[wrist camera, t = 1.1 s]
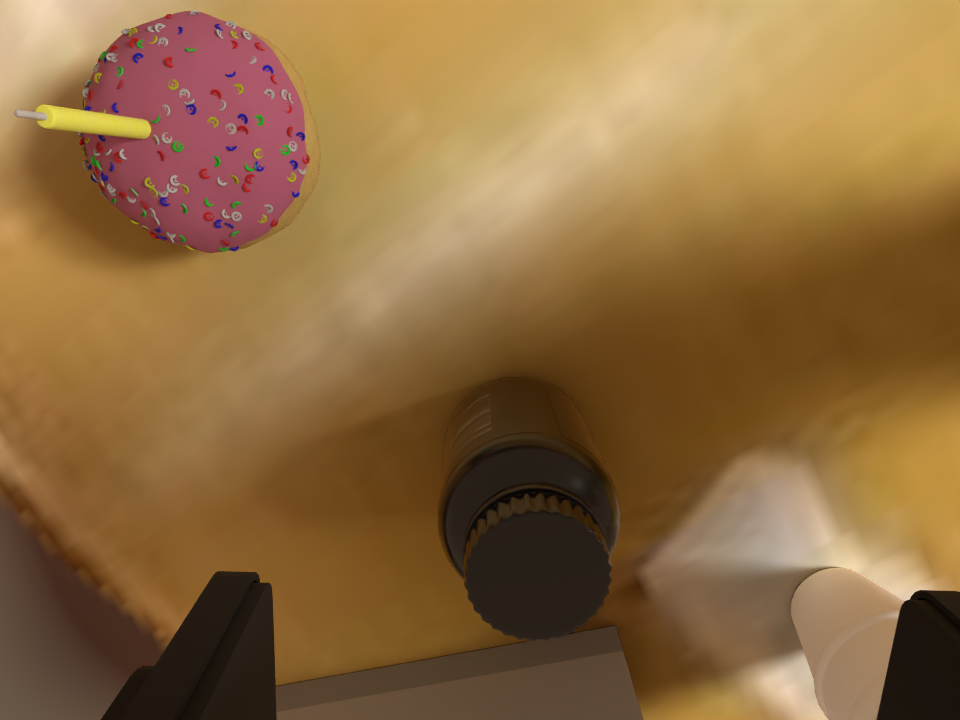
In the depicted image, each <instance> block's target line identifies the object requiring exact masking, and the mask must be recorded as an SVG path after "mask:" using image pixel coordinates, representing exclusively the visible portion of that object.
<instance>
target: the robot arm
mask: <svg viewBox="0 0 960 720" xmlns="http://www.w3.org/2000/svg"><path fill="white" fill-rule="evenodd" d="M101 720H277V715H276V685H275V656H274V627H273V597H272V587H271V584H270V583H260V579H259V576H258V574H257V573H256V572H226V571H219V572H216V573H215V574H214V575H213V577H212V578H211V580H210V581H209V583H208V584H207V586H206V587H205V589H204V591H203V592H202V594H201V595H200V597H199V598H198V600H197V601H196V603H195V604H194V606H193V608H192V609H191V611H190V612H189V614H188V615H187V617H186V618H185V620H184V622H183V623H182V625H181V626H180V628H179V629H178V631H177V632H176V634H175V636H174V637H173V639H172V640H171V642H170V643H169V645H168V646H167V648H166V649H165V651H164V653H163V654H162V656H161V657H160V659H159V661H158V662H157V664H156V665H155V666H142V667H140V668H138V669H137V670H136V671H135V672H134V673H133V674H132V675H131V676H130V678H129V679H128V681H127V682H126V684H125V685H124V687H123V688H122V690H121V691H120V693H119V694H118V695H117V697H116V698H115V700H114V701H113V703H112V704H111V706H110V707H109V709H108V710H107V711H106V713H105V714H104V716H103V717H102V719H101ZM876 720H960V592H957V591H930V590H919V591H917V592H915V593H914V594H913V595H912V596H911V598H910V600H907V601H905V602H904V603H903V604H902V605H901V608H900V612H899V616H898V621H897V626H896V630H895V635H894V640H893V644H892V649H891V654H890V658H889V663H888V668H887V673H886V677H885V682H884V687H883V691H882V696H881V701H880V705H879V710H878V715H877V719H876Z"/></svg>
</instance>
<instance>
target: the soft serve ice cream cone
mask: <svg viewBox="0 0 960 720" xmlns="http://www.w3.org/2000/svg"><path fill="white" fill-rule="evenodd" d="M904 602H905V601H903V600H902V599H900V598H898V597H897V596H895V595H894V594H892V593H890V592H889V591H887V590H886V589H884V588H882V587H881V586H879V585H878V584H876V583H874V582H873V581H871V580H870V579H868V578H866V577H865V576H863V575H862V574H860V573H858V572H856V571H853V570H851V569H846V568H829V569H824V570H821V571H818V572H816V573H814V574H812V575H811V576H809V577H808V578H807V579H805V580H804V581H803V582H802V583H801V584H800V585H799V587H798V588H797V590H796V591H795V593H794V596H793V598H792V602H791V616H792V619H793V622H794V625H795V628H796V631H797V634H798V636H799V639H800V642H801V645H802V648H803V650H804V653H805V656H806V659H807V662H808V664H809V667H810V670H811V673H812V676H813V678H814V687H815V694H816V697H817V700H818V703H819V706H820V708H821V709H822V711H823V712H824V714H825V716H826V717H827V718H828V719H829V720H876V719H877V715H878V710H879V705H880V701H881V696H882V691H883V687H884V682H885V677H886V673H887V668H888V663H889V658H890V654H891V649H892V644H893V640H894V635H895V630H896V626H897V621H898V616H899V612H900V608H901V605H902V604H903V603H904Z"/></svg>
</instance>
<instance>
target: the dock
mask: <svg viewBox="0 0 960 720" xmlns="http://www.w3.org/2000/svg"><path fill="white" fill-rule="evenodd" d="M276 715H277V720H643V717H642V713H641V710H640V707H639V703H638V700H637V696H636V693H635V689H634V686H633V683H632V679H631V676H630V672H629V669H628V666H627V662H626V659H625V655H624V652H623V648H622V645H621V642H620V638H619V635H618V631H617V628H616V626H611V627H605V628H600V629H594V630H589V631H583V632H578V633H572V634H566V635H564V636H562V637H560V638H551V639H550V640H547V641H546V640H536V641H527V642H522V643H516V644H510V645H505V646H499V647H494V648H488V649H483V650H477V651H471V652H466V653H460V654H455V655H449V656H443V657H438V658H432V659H427V660H421V661H415V662H410V663H404V664H399V665H393V666H387V667H382V668H376V669H371V670H365V671H360V672H354V673H348V674H343V675H337V676H332V677H326V678H320V679H315V680H309V681H304V682H298V683H292V684H287V685H281V686H276Z"/></svg>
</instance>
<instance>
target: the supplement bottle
mask: <svg viewBox="0 0 960 720" xmlns="http://www.w3.org/2000/svg"><path fill="white" fill-rule="evenodd" d="M620 519H621V518H620V506H619V501H618V497H617V494H616V491H615V488H614V485H613V482H612V480H611V478H610V476H609V473H608V471H607V469H606V467H605V465H604V462H603V460H602V458H601V456H600V454H599V451H598V449H597V447H596V445H595V443H594V441H593V438H592V436H591V434H590V432H589V430H588V427H587V425H586V423H585V421H584V419H583V417H582V416H581V414H580V412H579V410H578V409H577V407H576V406H575V405H574V403H573V402H572V401H571V400H570V399H569V398H568V397H567V396H566V395H565V394H564V393H563V392H561V391H560V390H559V389H557V388H556V387H554V386H552V385H550V384H548V383H545V382H543V381H540V380H537V379H532V378H525V377H510V378H504V379H499V380H495V381H492V382H490V383H487V384H485V385H483V386H481V387H480V388H478V389H476V390H475V391H474V392H472V393H471V394H470V395H469V396H468V397H467V398H465V399H464V401H463V402H462V403H461V404H460V405H459V407H458V408H457V410H456V411H455V413H454V415H453V417H452V419H451V421H450V424H449V427H448V430H447V435H446V441H445V448H444V458H443V467H442V477H441V487H440V496H439V506H438V530H439V537H440V541H441V544H442V547H443V550H444V553H445V555H446V557H447V559H448V561H449V562H450V564H451V566H452V567H453V568H454V570H455V571H456V572H457V573H458V575H459V576H460V577H461V578H462V579H463V580H464V585H465V588H466V589H467V591H468V599H469V600H470V601H471V602H472V603H473V607H474V610H475V611H476V612H477V613H479V614H480V615H481V617H482V619H483V621H485V622H487V623H490V625H491V626H492V628H493V629H496V630H500V631H502V632H503V633H504V634H505V635H509V636H514V637H516V638H517V639H528V640H530V641H536V640H546V641H547V640H550V639H551V638H560V637H562V636H564V635H565V634H566V633H572V632H574V631H575V630H576V629H577V628H578V627H581V626H584V625H585V624H586V623H587V622H588V620H589V619H590V618H592V617H594V616H595V615H596V613H597V610H598V609H599V608H600V607H602V606H603V604H604V598H605V597H606V596H607V595H608V593H609V587H608V586H609V585H610V583H611V581H612V577H611V574H610V572H611V568H612V564H611V561H610V557H611V555H612V554H613V551H614V549H615V546H616V543H617V540H618V536H619V531H620Z"/></svg>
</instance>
